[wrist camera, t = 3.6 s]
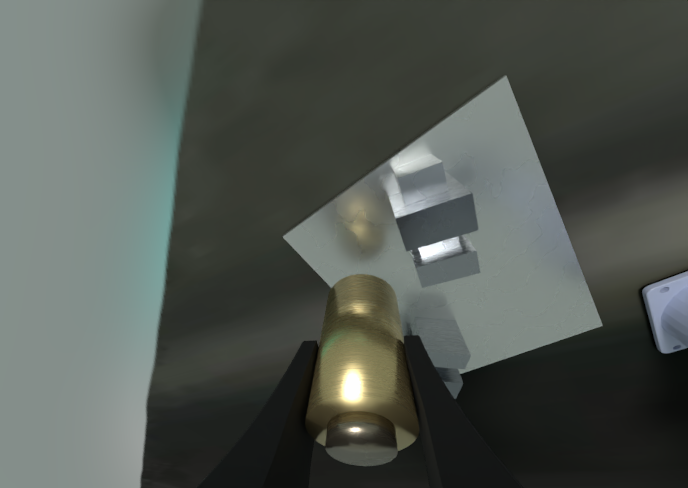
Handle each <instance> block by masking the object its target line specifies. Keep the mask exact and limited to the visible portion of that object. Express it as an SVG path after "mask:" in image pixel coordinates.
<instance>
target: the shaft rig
mask: <svg viewBox="0 0 688 488" xmlns="http://www.w3.org/2000/svg"><path fill="white" fill-rule="evenodd" d="M283 238H284V239H285V240H286V241H287V242H288V243H289V244H290V245H291V246H292V247H293V248H294V249H295V250H296V251H297V252H298V253H299V255H300V256H301V257H302V258H303V259H304V260H305V261H306V262H307V263H308V264H309V265H310V266H311V267H312V268H313V269H314V270H315V271H316V272H317V273H318V274H319V275H320V277H321V278H322V279H323V280H324V281H325V282H326V283H327V284H328V285H329V286H330V287H331V288H332V287H333V286H334V284H335V283H337V282H338V281H339V280H341V279H343V278H345V277H347V276H350V275H356V274H368V275H373V276H376V277H379V278H381V279H383V280H384V281H386V282H387V283H388V284H389V285H390V286H391V287H392V288H393V289H394V291H395V293H396V297H397V302H398V308H399V314H400V320H401V325H402V331H403V337H404V336H410V335H418V336H420V338H421V340H422V343H423V345H424V347H425V349H426V351H427V353H428V355H429V357H430V359H431V361H432V363H433V365H434V366H435V368H436V370H437V372H438V373H439V375H440V377H441V378H442V380H443V382H444V383H445V385H446V387H447V388H448V390H449V391H450V393H451V394H452V396H453V397H454V399H456V397H457V395H458V393H459V391H460V389H461V387H462V385H463V381H462V378H461V376H460V374H462V373H465V372H468V371H471V370H473V369H476V368H479V367H482V366H485V365H488V364H491V363H494V362H497V361H500V360H503V359H506V358H509V357H512V356H515V355H518V354H521V353H524V352H527V351H530V350H532V349H535V348H538V347H541V346H544V345H547V344H550V343H553V342H556V341H559V340H562V339H565V338H568V337H571V336H574V335H577V334H580V333H583V332H586V331H588V330H591V329H594V328H597V327H600V326H603V325H602V323H601V320H600V317H599V315H598V312H597V310H596V307H595V304H594V302H593V299H592V297H591V294H590V291H589V289H588V286H587V284H586V281H585V278H584V276H583V273H582V271H581V268H580V266H579V263H578V260H577V258H576V255H575V253H574V250H573V247H572V245H571V242H570V240H569V237H568V234H567V232H566V229H565V227H564V224H563V221H562V219H561V216H560V214H559V211H558V209H557V206H556V203H555V201H554V198H553V196H552V193H551V190H550V188H549V185H548V183H547V180H546V177H545V175H544V172H543V170H542V167H541V164H540V162H539V159H538V157H537V154H536V152H535V149H534V146H533V144H532V141H531V139H530V136H529V133H528V131H527V128H526V126H525V123H524V120H523V118H522V115H521V113H520V110H519V107H518V105H517V102H516V100H515V97H514V95H513V92H512V89H511V87H510V84H509V82H508V79H507V76H502V77H500V78H499V79H498V80H496V81H495V82H494V83H492V84H491V85H489V86H488V87H487V88H485V89H484V90H482V91H481V92H480V93H478V94H477V95H476V96H474V97H473V98H471V99H470V100H469V101H467V102H466V103H465V104H463V105H462V106H460V107H459V108H458V109H456V110H455V111H453V112H452V113H451V114H449V115H448V116H447V117H445V118H444V119H442V120H441V121H440V122H438V123H437V124H436V125H434V126H433V127H431V128H430V129H429V130H427V131H426V132H424V133H423V134H422V135H420V136H419V137H418V138H416V139H415V140H413V141H412V142H411V143H409V144H408V145H407V146H405V147H404V148H402V149H401V150H400V151H398V152H397V153H396V154H394V155H393V156H391V157H390V158H389V159H387V160H386V161H384V162H383V163H382V164H380V165H379V166H378V167H376V168H375V169H373V170H372V171H371V172H369V173H368V174H367V175H365V176H364V177H362V178H361V179H360V180H358V181H357V182H355V183H354V184H353V185H351V186H350V187H349V188H347V189H346V190H344V191H343V192H342V193H340V194H339V195H338V196H336V197H335V198H333V199H332V200H331V201H329V202H328V203H326V204H325V205H324V206H322V207H321V208H320V209H318V210H317V211H315V212H314V213H313V214H311V215H310V216H309V217H307V218H306V219H304V220H303V221H302V222H300V223H299V224H298V225H296V226H295V227H293V228H292V229H291V230H289V231H288V232H286V233H285V234H284V235H283Z"/></svg>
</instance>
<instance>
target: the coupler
mask: <svg viewBox="0 0 688 488" xmlns="http://www.w3.org/2000/svg"><path fill="white" fill-rule="evenodd" d="M305 426H306V429H307V431H308V433H309V434H310V435H311V436H312V437H313V438H314V439H315V440H316V441H317V442H319V443H321V444H322V445H324V446H325V449H326V451H327V453H328V454H329V455H330V456H332V457H333V458H335V459H337V460H339V461H341V462H344V463H347V464H352V465H358V466H375V465H381V464H385V463H387V462H390V461H391V460H393V459H394V458H395V457H396V456H397V453H398V451H399V450H402V449H404V448H406V447H408V446H409V445H411V444H412V443H413V442H414V441H415V440H416V438H417V437H418V435H419V424H418V418H417V412H416V406H415V401H414V395H413V389H412V383H411V378H410V374H409V369H408V364H407V358H406V352H405V347H404V337H403V331H402V325H401V320H400V314H399V308H398V302H397V297H396V293H395V291H394V289H393V288H392V287H391V286H390V285H389V284H388V283H387V282H386V281H384V280H383V279H381V278H379V277H376V276H373V275H368V274H356V275H350V276H347V277H345V278H343V279H341V280H339V281H338V282H337V283H335V284H334V286H333V287H332V288H331V290H330V292H329V295H328V300H327V306H326V311H325V317H324V322H323V327H322V333H321V338H320V344H319V349H318V354H317V360H316V365H315V371H314V376H313V381H312V387H311V392H310V398H309V403H308V408H307V414H306V419H305Z"/></svg>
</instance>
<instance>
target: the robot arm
mask: <svg viewBox="0 0 688 488" xmlns="http://www.w3.org/2000/svg"><path fill="white" fill-rule="evenodd" d="M642 295H643V298H644V302H645V306H646V309H647V313H648V317H649V321H650V324H651V328H652V332H653V335H654V339H655V343H656V347H657V349H658V350H659V351H660V352H662V353H671V352H675V351H678V350H682V349H685V348H688V271H686V272H684V273H681V274H678V275H675V276H673V277H670V278H667V279H664V280H662V281H659V282H656V283H654V284H651V285H648V286H646V287H645V288H644V289H643V290H642ZM404 347H405V352H406V358H407V364H408V369H409V374H410V378H411V383H412V389H413V395H414V401H415V406H416V412H417V418H418V424H419V434H420V439H421V443H422V447H423V452H424V457H425V461H426V467H427V473H428V480H429V486H430V488H523V486H522V485H521V484H520V483H519V482H518V480H517V479H516V478H515V477H514V476H513V475H512V473H511V472H510V471H509V470H508V469H507V467H506V466H505V465H504V464H503V463H502V461H501V460H500V459H499V458H498V457H497V456H496V454H495V453H494V452H493V451H492V449H491V448H490V447H489V445H488V444H487V443H486V442H485V440H484V439H483V438H482V437H481V435H480V434H479V433H478V431H477V430H476V429H475V427H474V426H473V425H472V423H471V422H470V420H469V419H468V418H467V416H466V415H465V413H464V412H463V411H462V409H461V408H460V406H459V405H458V403H457V402H456V400H455V399H454V397H453V396H452V394H451V393H450V391H449V390H448V388H447V387H446V385H445V383H444V382H443V380H442V378H441V377H440V375H439V373H438V372H437V370H436V368H435V366H434V365H433V363H432V361H431V359H430V357H429V355H428V353H427V351H426V349H425V347H424V345H423V343H422V340H421V338H420V336H418V335H410V336H404ZM318 349H319V347H318V344H317V341H304V342H303V343H302V344H301V346H300V348H299V350H298V352H297V353H296V355H295V357H294V359H293V360H292V362H291V364H290V366H289V367H288V369H287V371H286V372H285V374H284V376H283V377H282V379H281V381H280V382H279V384H278V385H277V387H276V389H275V390H274V392H273V393H272V395H271V396H270V398H269V399H268V401H267V402H266V404H265V405H264V407H263V408H262V409H261V411H260V412H259V414H258V415H257V416H256V418H255V419H254V420H253V422H252V423H251V424H250V426H249V427H248V428H247V430H246V431H245V432H244V434H243V435H242V436H241V437H240V439H239V440H238V441H237V442H236V443H235V445H234V446H233V447H232V448H231V449H230V451H229V452H228V453H227V454H226V455H225V457H224V458H223V459H222V460H221V461H220V462H219V463H218V465H217V466H216V467H215V468H214V469H213V470H212V471H211V472H210V473H209V474H208V475H207V477H206V478H205V479H204V480H203V481H202V482H201V483H200V484H199V485H198V486H197V487H196V488H308V485H309V475H310V466H311V458H312V451H313V445H314V440H315V439H314V438H313V437H312V436H311V435H310V434H309V433H308V431H307V429H306V426H305V419H306V414H307V408H308V403H309V398H310V392H311V387H312V381H313V376H314V371H315V365H316V360H317V354H318Z"/></svg>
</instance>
